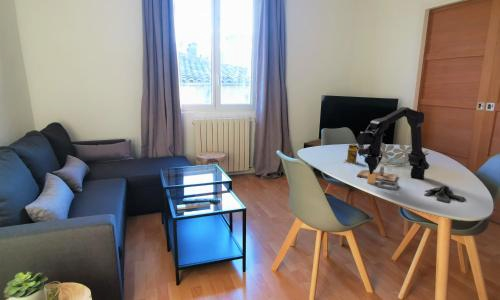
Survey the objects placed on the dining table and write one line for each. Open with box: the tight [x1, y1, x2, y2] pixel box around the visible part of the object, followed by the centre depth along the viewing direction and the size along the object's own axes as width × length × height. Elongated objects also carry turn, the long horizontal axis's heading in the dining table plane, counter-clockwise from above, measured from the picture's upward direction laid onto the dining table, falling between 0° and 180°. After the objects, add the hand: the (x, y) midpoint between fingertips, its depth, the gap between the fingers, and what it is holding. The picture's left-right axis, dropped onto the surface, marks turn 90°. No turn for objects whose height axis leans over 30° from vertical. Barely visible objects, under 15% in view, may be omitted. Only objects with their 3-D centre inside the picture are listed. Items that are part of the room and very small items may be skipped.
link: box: [366, 172, 399, 191], centre depth 164 cm, size 15×9×6 cm, turn 57°
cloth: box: [423, 185, 466, 204], centre depth 151 cm, size 22×19×6 cm
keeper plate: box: [356, 165, 398, 183], centre depth 178 cm, size 20×13×7 cm, turn 57°
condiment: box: [342, 143, 358, 165], centre depth 209 cm, size 7×8×12 cm
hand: (372, 171), depth 166 cm, fingers open, 9 cm apart
